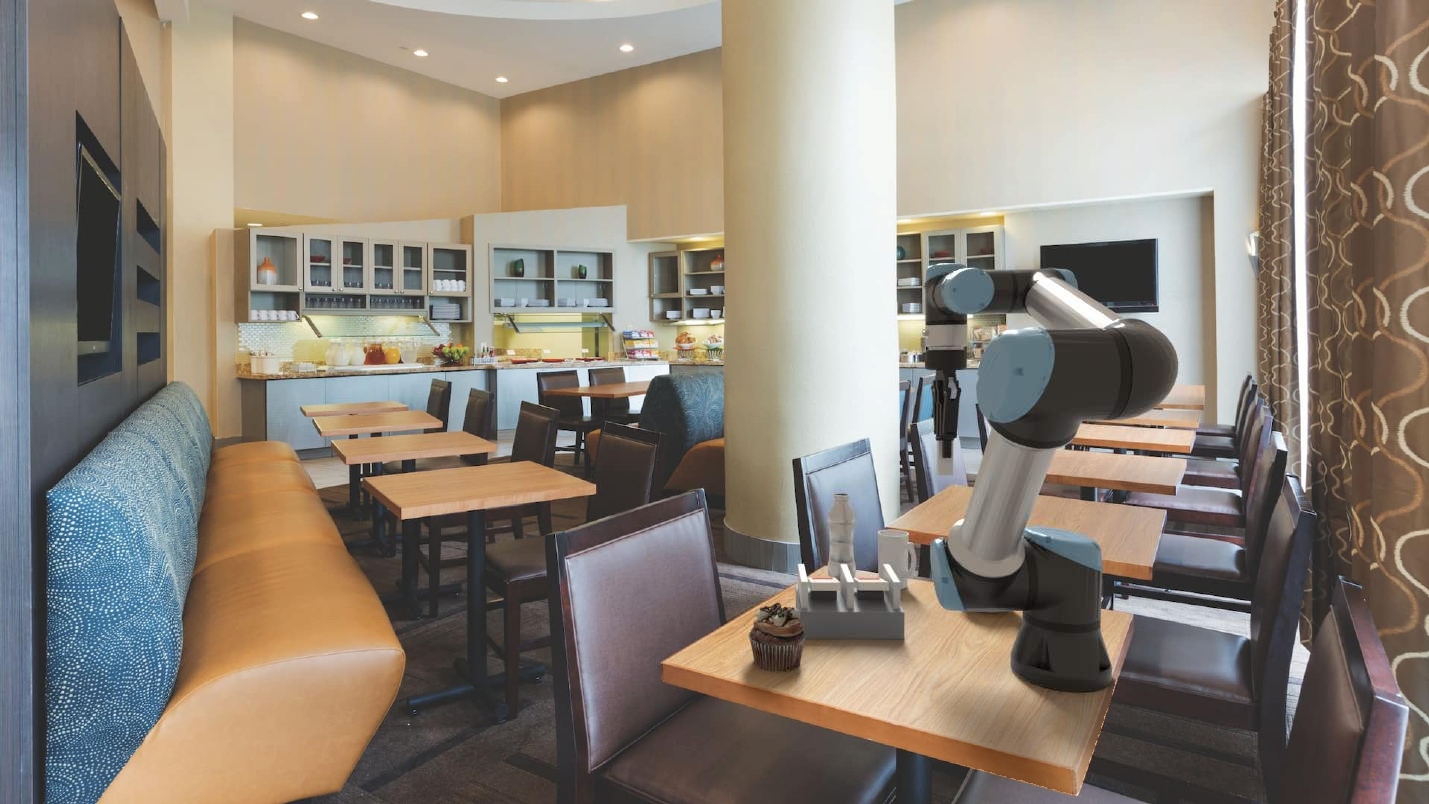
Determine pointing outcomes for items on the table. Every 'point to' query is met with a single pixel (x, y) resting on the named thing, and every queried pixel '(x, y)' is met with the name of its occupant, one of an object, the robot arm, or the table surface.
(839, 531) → the plastic bottle
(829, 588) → the block
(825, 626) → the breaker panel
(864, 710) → the table surface
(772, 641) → the cupcake
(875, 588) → the breaker
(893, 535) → the mug
